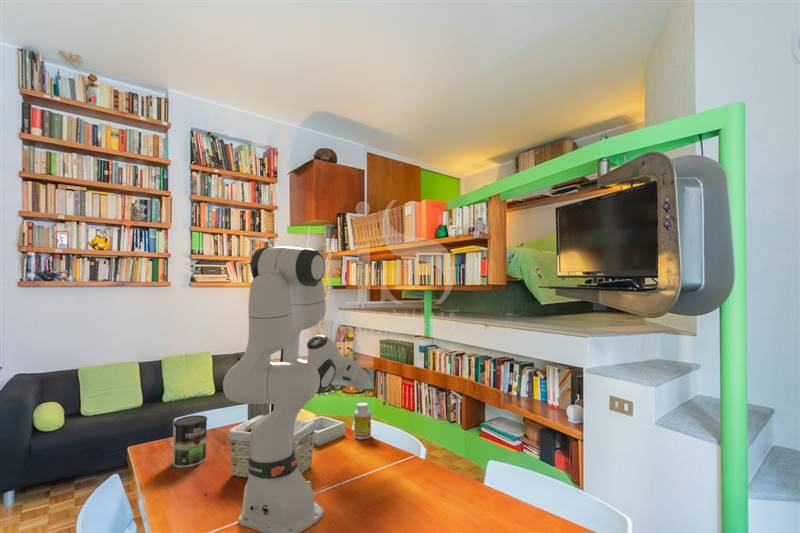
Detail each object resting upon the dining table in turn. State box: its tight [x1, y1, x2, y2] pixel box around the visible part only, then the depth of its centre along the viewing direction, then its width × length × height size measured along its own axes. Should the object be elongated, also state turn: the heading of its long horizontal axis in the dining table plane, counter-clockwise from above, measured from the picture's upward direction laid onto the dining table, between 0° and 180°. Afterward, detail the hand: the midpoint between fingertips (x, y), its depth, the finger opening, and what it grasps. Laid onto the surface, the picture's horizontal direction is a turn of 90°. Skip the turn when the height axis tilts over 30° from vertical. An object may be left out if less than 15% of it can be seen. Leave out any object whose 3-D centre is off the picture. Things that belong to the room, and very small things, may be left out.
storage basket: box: [227, 415, 316, 479], centre depth 128 cm, size 24×16×15 cm
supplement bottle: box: [353, 402, 372, 440], centre depth 157 cm, size 7×7×13 cm
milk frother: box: [246, 403, 274, 432], centre depth 163 cm, size 14×16×15 cm
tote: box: [307, 415, 346, 447], centre depth 157 cm, size 14×14×5 cm
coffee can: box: [172, 414, 208, 469], centre depth 136 cm, size 10×10×14 cm
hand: (349, 388), depth 147 cm, fingers open, 8 cm apart
